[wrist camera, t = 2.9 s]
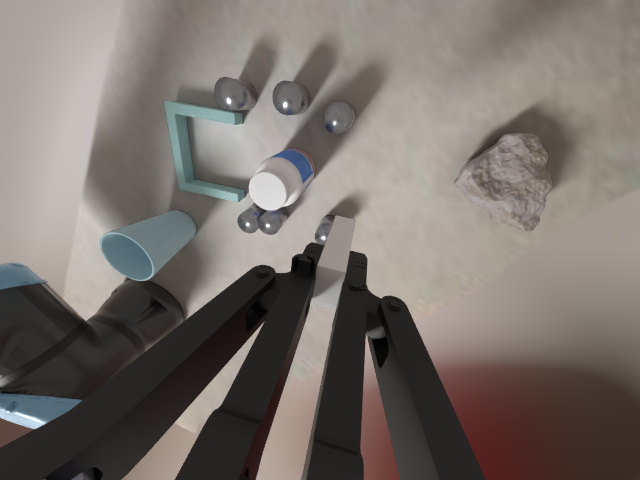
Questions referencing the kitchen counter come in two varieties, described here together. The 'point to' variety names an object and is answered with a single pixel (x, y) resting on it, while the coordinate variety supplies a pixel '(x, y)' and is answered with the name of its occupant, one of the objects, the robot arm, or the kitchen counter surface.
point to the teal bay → (181, 147)
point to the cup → (147, 244)
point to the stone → (509, 180)
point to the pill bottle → (281, 179)
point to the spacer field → (287, 102)
